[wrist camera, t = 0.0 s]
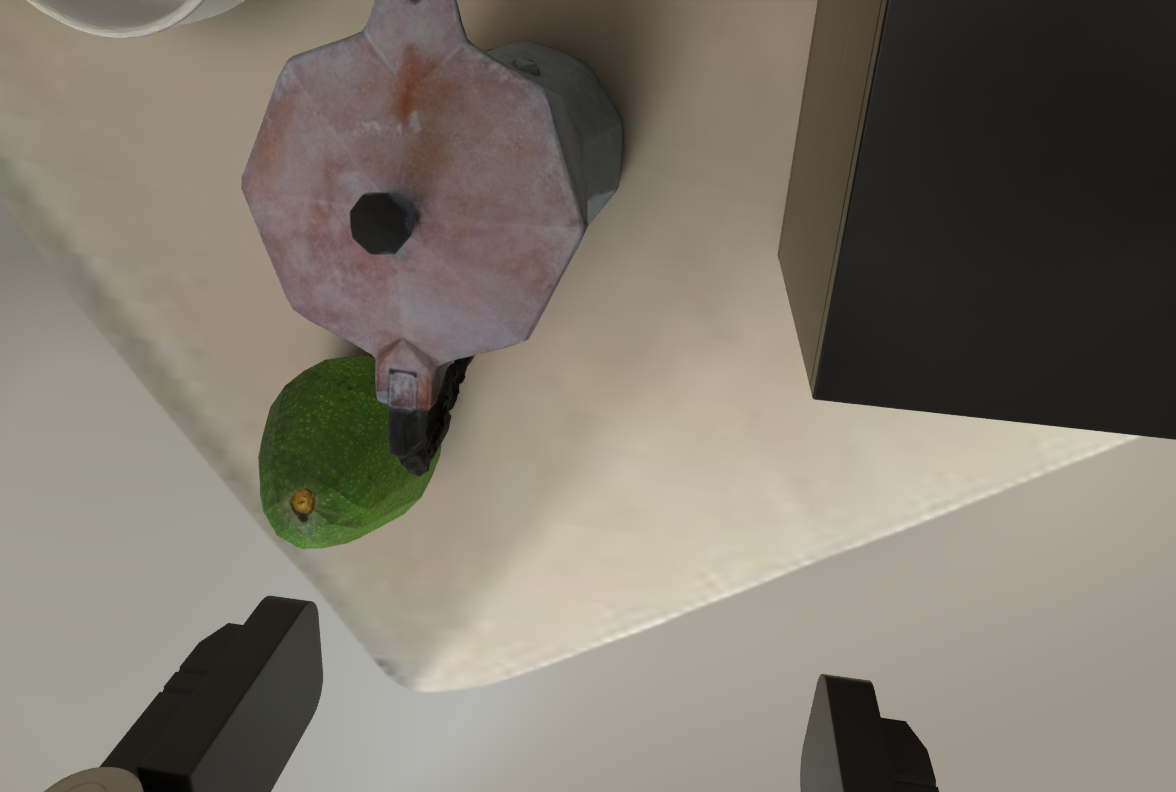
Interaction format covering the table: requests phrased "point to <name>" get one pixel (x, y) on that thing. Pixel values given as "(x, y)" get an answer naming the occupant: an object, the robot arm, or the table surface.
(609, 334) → the table surface
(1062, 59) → the oven
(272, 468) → the avocado
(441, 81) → the moka pot
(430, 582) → the table surface
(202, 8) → the teacup
